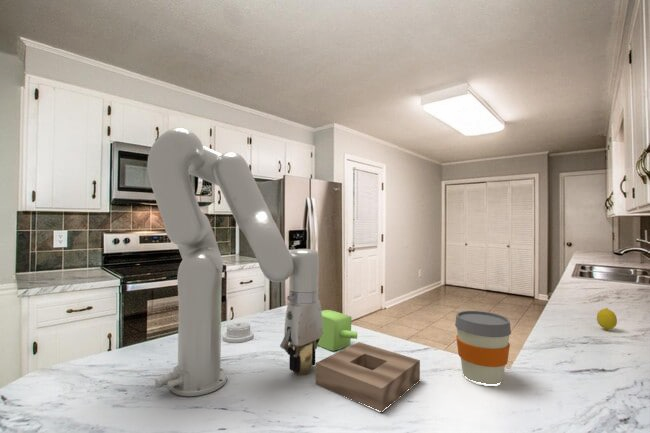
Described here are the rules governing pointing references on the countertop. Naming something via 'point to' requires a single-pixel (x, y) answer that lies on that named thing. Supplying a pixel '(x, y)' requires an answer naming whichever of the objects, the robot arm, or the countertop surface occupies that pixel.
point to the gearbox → (336, 330)
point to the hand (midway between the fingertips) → (302, 366)
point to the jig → (368, 374)
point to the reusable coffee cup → (483, 345)
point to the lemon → (606, 319)
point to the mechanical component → (238, 332)
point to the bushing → (305, 359)
